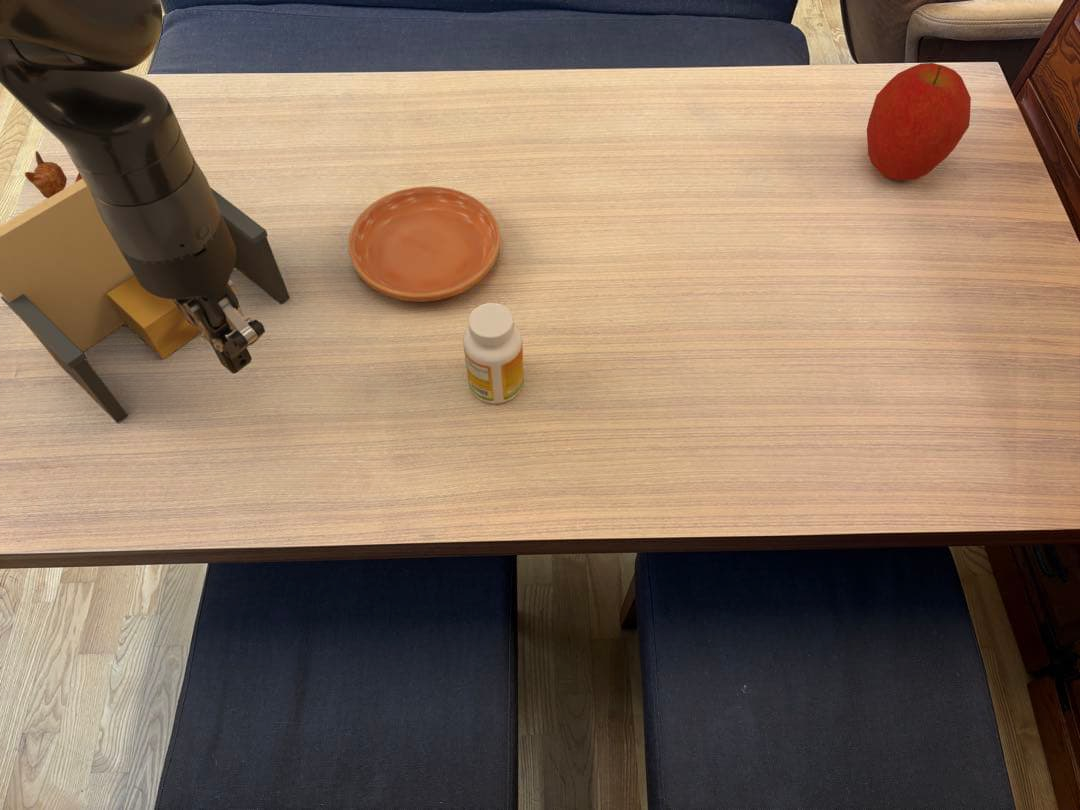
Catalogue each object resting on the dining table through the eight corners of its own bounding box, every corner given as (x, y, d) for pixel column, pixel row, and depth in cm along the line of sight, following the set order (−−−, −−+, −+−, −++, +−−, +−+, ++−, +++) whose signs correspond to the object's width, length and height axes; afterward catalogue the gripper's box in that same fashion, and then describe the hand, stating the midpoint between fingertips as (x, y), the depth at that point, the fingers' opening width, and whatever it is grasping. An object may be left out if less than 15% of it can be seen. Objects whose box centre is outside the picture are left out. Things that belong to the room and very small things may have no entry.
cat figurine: (115, 159, 101) (60, 56, 89) (170, 159, 101) (122, 56, 89) (68, 273, 91) (-1, 174, 79) (129, 273, 91) (68, 174, 79)
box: (163, 359, 85) (143, 328, 80) (127, 325, 87) (105, 293, 83) (217, 321, 87) (200, 289, 83) (180, 289, 90) (162, 256, 85)
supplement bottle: (520, 357, 84) (518, 293, 76) (526, 402, 82) (524, 340, 73) (466, 362, 84) (458, 299, 76) (470, 408, 81) (462, 346, 73)
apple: (935, 209, 95) (989, 105, 84) (845, 188, 97) (886, 83, 86) (944, 151, 101) (996, 46, 89) (859, 132, 103) (899, 26, 91)
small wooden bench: (291, 297, 89) (247, 179, 76) (115, 425, 80) (30, 318, 67) (227, 245, 93) (173, 125, 80) (53, 361, 84) (-40, 248, 71)
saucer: (520, 222, 95) (519, 202, 92) (471, 329, 86) (468, 310, 84) (388, 192, 97) (384, 172, 95) (328, 293, 89) (322, 274, 87)
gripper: (70, 204, 62) (159, 349, 76) (175, 296, 57) (249, 432, 71) (157, 153, 65) (227, 302, 80) (264, 236, 60) (318, 378, 75)
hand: (238, 363), depth 75 cm, fingers closed
